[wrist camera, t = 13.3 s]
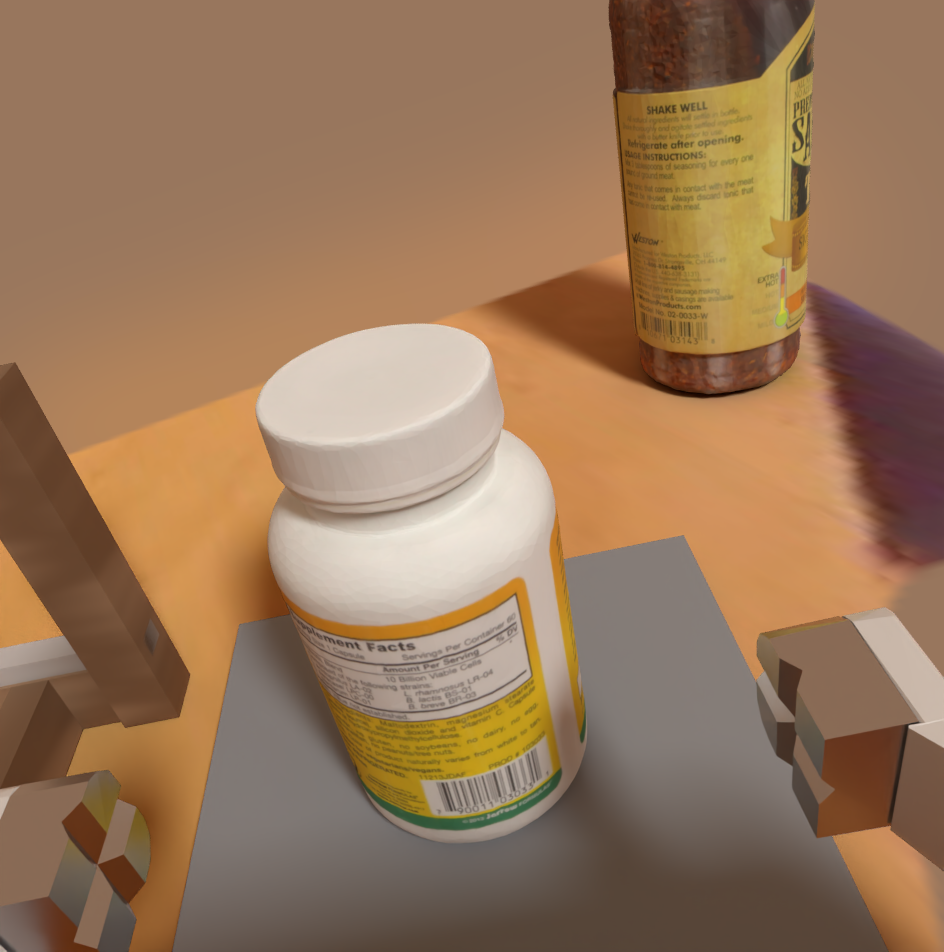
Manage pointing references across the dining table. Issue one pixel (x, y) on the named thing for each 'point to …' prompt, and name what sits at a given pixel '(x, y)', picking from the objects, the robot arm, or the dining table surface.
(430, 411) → the supplement bottle
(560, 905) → the grey mat
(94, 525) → the dispenser cradle
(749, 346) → the sauce bottle
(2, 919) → the robot arm
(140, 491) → the dining table surface
